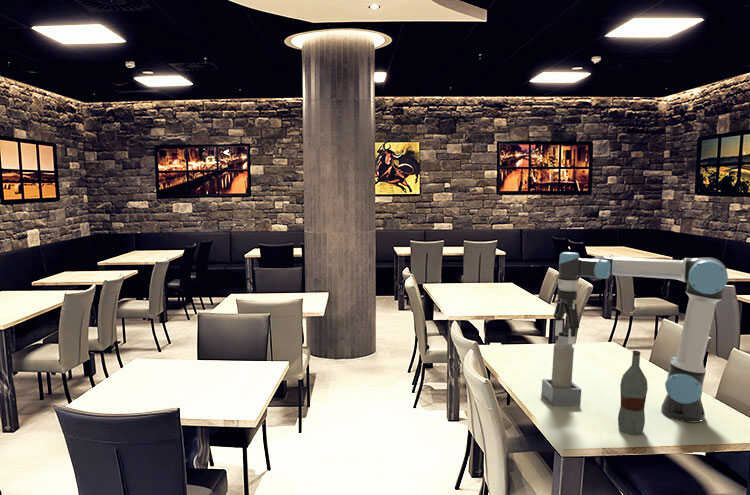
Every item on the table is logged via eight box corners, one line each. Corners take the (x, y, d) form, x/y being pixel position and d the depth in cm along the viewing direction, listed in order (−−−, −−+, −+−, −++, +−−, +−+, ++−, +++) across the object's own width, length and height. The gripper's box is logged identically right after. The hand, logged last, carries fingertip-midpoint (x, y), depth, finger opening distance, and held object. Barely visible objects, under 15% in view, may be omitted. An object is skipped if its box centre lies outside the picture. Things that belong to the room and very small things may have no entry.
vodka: (616, 423, 208) (622, 346, 205) (643, 427, 205) (649, 349, 202) (617, 432, 199) (623, 353, 196) (645, 437, 196) (651, 356, 193)
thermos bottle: (547, 394, 234) (551, 330, 231) (566, 394, 234) (570, 330, 231) (554, 401, 226) (558, 335, 223) (573, 401, 226) (577, 335, 223)
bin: (580, 405, 224) (581, 389, 224) (551, 405, 224) (552, 389, 223) (568, 395, 236) (569, 379, 236) (541, 394, 236) (542, 379, 235)
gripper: (547, 284, 237) (545, 332, 239) (571, 295, 212) (568, 347, 215) (564, 284, 238) (561, 332, 240) (589, 295, 213) (586, 347, 215)
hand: (564, 339), depth 227 cm, fingers open, 13 cm apart
